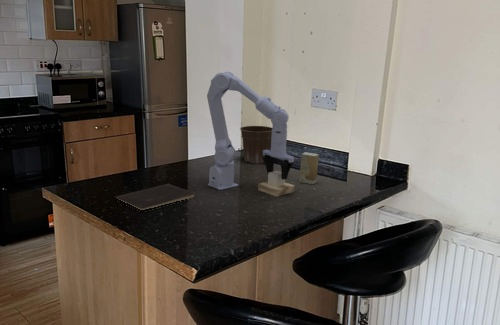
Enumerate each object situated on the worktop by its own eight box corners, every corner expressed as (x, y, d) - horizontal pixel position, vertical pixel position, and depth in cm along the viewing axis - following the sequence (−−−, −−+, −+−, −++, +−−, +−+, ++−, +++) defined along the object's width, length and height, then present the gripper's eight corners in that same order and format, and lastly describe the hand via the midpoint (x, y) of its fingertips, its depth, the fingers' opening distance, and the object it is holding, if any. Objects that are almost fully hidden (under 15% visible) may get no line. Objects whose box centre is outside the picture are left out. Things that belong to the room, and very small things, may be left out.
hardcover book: (195, 199, 162) (195, 193, 162) (141, 214, 146) (141, 207, 145) (168, 189, 172) (168, 183, 172) (115, 202, 156) (114, 196, 155)
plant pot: (244, 165, 208) (245, 131, 204) (235, 157, 224) (236, 125, 220) (277, 164, 213) (278, 131, 209) (266, 156, 228) (268, 125, 224)
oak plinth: (276, 197, 167) (276, 190, 166) (258, 191, 174) (258, 183, 173) (294, 192, 173) (294, 185, 172) (276, 186, 180) (276, 179, 180)
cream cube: (276, 186, 170) (276, 175, 169) (267, 184, 173) (268, 172, 172) (284, 184, 173) (285, 173, 172) (276, 182, 176) (276, 170, 175)
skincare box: (298, 182, 185) (300, 153, 182) (302, 179, 189) (304, 151, 186) (313, 184, 183) (315, 155, 180) (317, 182, 186) (319, 153, 183)
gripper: (300, 144, 166) (298, 179, 169) (272, 137, 176) (270, 171, 180) (287, 146, 161) (285, 182, 165) (259, 139, 172) (258, 173, 175)
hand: (277, 176), depth 172 cm, fingers open, 7 cm apart
